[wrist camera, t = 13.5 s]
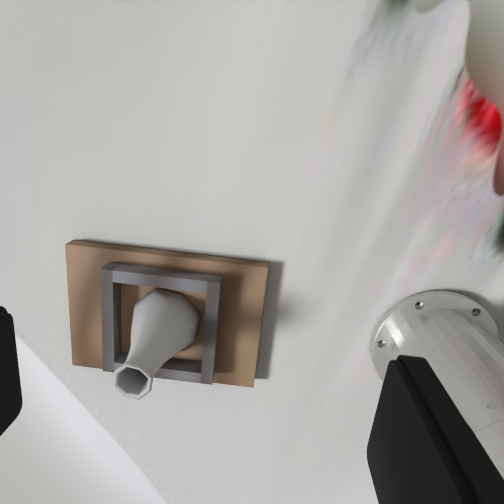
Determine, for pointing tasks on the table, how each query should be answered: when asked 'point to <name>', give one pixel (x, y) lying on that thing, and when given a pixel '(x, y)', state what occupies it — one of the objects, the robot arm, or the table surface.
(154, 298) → the flask
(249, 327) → the walnut board
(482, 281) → the table surface
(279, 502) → the table surface
